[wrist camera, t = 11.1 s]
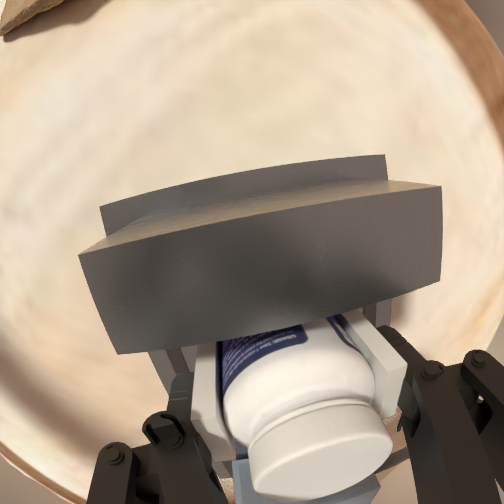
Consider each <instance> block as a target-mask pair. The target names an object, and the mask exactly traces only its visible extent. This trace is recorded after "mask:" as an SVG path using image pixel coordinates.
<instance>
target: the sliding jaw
mask: <svg viewBox="0 0 504 504" xmlns="http://www.w3.org/2000/svg"><path fill="white" fill-rule="evenodd" d="M408 458H410V456H409V452H408V447H405V448H403V449H401V450H399V451H397V452H395V453H393V454H390V455H389V457H388V458H387V459H386V461H385V462H384V463H383V464H382V465H381V466H380V467H379V468H378V469H377V470H375V471H374V472H373V473H372V474H370V475H369V476H368V477H366V478H365V479H363V480H361V481H360V482H358V483H356V484H354V485H352V486H350V487H348V488H346V489H344V490H341V491H339V492H336V493H333V494H330V495H327V496H324V497H320V498H316V499H312V500H305V501H295V502H281V501H274V500H269V499H266V498H263V497H261V496H260V495H258V494H257V493H256V492H255V490H254V488H253V484H252V478H251V472H250V464H249V459H242V460H234V461H232V470H233V482H234V493H235V503H236V504H371V502H372V500H373V499H374V497H375V496H376V494H377V492H378V491H379V489H380V484H379V482H378V480H377V478H376V476H375V474H376V473H379V472H381V471H383V470H386V469H388V468H390V467H392V466H394V465H396V464H398V463H400V462H403V461H405V460H406V459H408Z"/></svg>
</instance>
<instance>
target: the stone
mask: <svg viewBox="0 0 504 504" xmlns="http://www.w3.org/2000/svg"><path fill="white" fill-rule="evenodd" d="M63 1H64V0H6V3H5V8H4V11H3V13H2V16H1V20H0V36H2V35H4V34H6V33H8V32H9V31H10V30H11V29H13V28H15V27H17V26H19V25H20V24H22V23H23V22H26V21H27V20H29V19H30V18H32V17H33V16H34V15H35V14H36V13H40V12H43V11H46V10H49V9H51V8H52V7H54V6H57V5H58V4H60V3H62V2H63Z"/></svg>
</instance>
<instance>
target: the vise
mask: <svg viewBox="0 0 504 504" xmlns="http://www.w3.org/2000/svg"><path fill="white" fill-rule="evenodd" d="M100 212H101V216H102V220H103V224H104V228H105V232H106V236H107V237H106V238H104V239H103V240H101V241H99V242H98V243H96V244H95V245H93V246H91V247H90V248H88V249H86V250H85V251H83V252H82V253H80V254H79V255H78V256H79V259H80V263H81V266H82V269H83V272H84V275H85V278H86V281H87V284H88V286H89V289H90V292H91V294H92V297H93V300H94V302H95V305H96V307H97V310H98V312H99V315H100V317H101V320H102V322H103V324H104V327H105V329H106V331H107V333H108V336H109V338H110V340H111V342H112V344H113V346H114V348H115V350H116V352H117V355H119V354H130V353H139V352H148V354H149V356H150V358H151V360H152V363H153V365H154V367H155V369H156V371H157V373H158V375H159V377H160V379H161V381H162V383H163V385H164V387H165V389H166V391H167V393H168V395H169V394H170V389H171V384H172V381H173V380H174V378H175V377H176V376H177V374H179V373H187V372H195V364H196V355H197V346H198V345H199V344H206V343H212V342H217V341H223V340H229V339H234V338H239V337H244V336H249V335H254V334H259V333H264V332H269V331H273V330H278V329H282V328H286V327H291V326H295V325H299V324H303V323H307V322H311V321H315V320H319V319H323V318H326V317H330V316H334V315H337V314H341V313H345V312H348V311H352V310H355V309H358V310H359V311H360V312H361V313H362V315H363V316H364V317H365V318H366V319H367V320H368V321H369V322H370V323H371V324H372V325H373V326H374V327H375V328H377V327H380V326H383V325H387V326H390V313H391V298H393V297H396V296H399V295H402V294H405V293H408V292H411V291H414V290H417V289H419V288H422V287H425V286H428V285H430V284H433V283H436V282H438V281H440V274H441V260H442V236H443V213H442V188H441V186H437V185H429V184H421V183H412V182H403V181H393V180H388V175H387V167H386V160H385V154H384V155H369V156H357V157H346V158H336V159H326V160H318V161H310V162H302V163H295V164H287V165H281V166H274V167H268V168H262V169H256V170H250V171H244V172H239V173H233V174H228V175H223V176H218V177H213V178H208V179H204V180H199V181H194V182H190V183H186V184H181V185H177V186H173V187H169V188H165V189H161V190H157V191H153V192H149V193H145V194H141V195H138V196H134V197H130V198H127V199H123V200H120V201H116V202H113V203H110V204H106V205H103V206H100ZM234 441H235V452H236V460H242V459H249V456H248V448H246V447H245V446H243V445H241V444H240V443H239V442H238V441H237V440H236V439H235V438H234ZM232 461H234V460H227V461H218V462H215V460H214V459H213V457H212V467H213V469H214V470H215V472H216V473H217V475H218V476H219V478H220V479H221V478H231V477H232V478H233V470H232Z"/></svg>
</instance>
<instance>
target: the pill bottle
mask: <svg viewBox="0 0 504 504" xmlns="http://www.w3.org/2000/svg"><path fill="white" fill-rule="evenodd" d="M221 377H222V405H223V414H224V420H225V424H226V426H227V428H228V430H229V432H230V433H231V435H232V436H233V437H234V438H235V439H236V440H237V441H238V442H239V443H240V444H241V445H243V446H245V447H246V448H248V456H249V464H250V472H251V478H252V484H253V488H254V490H255V492H256V493H257V494H258V495H260V496H261V497H263V498H266V499H269V500H274V501H281V502H295V501H305V500H312V499H316V498H320V497H324V496H327V495H330V494H333V493H336V492H339V491H341V490H344V489H346V488H348V487H350V486H352V485H354V484H356V483H358V482H360V481H361V480H363V479H365V478H366V477H368V476H369V475H370V474H372V473H373V472H374V471H375V470H377V469H378V468H379V467H380V466H381V465H382V464H383V463H384V462H385V461H386V459H387V458H388V457H389V455H390V453H391V451H392V448H393V441H392V438H391V436H390V434H389V432H388V430H387V429H386V427H385V425H384V423H383V421H382V419H381V418H380V416H379V414H378V413H377V412H376V411H375V410H374V409H373V407H372V406H371V404H372V401H373V398H374V394H375V379H374V375H373V372H372V369H371V367H370V366H369V364H368V362H367V361H366V359H365V358H364V356H363V355H362V354H361V352H360V351H359V350H358V348H357V347H356V346H355V344H354V343H353V342H352V340H351V339H350V338H349V336H348V335H347V334H346V332H345V331H344V330H343V329H342V327H341V326H340V325H339V323H338V322H337V321H336V319H335V318H334V317H333V316H330V317H326V318H323V319H319V320H315V321H311V322H307V323H303V324H299V325H295V326H291V327H286V328H282V329H278V330H273V331H269V332H264V333H259V334H254V335H249V336H244V337H239V338H234V339H229V340H223V341H221Z"/></svg>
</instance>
